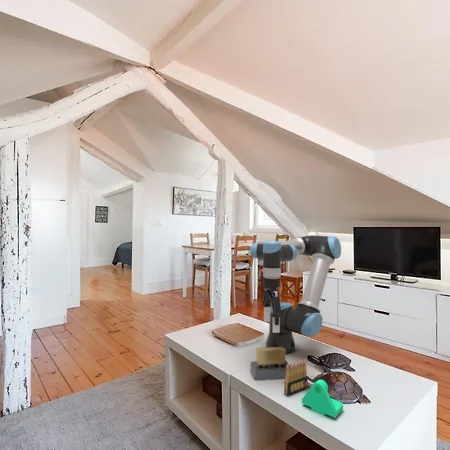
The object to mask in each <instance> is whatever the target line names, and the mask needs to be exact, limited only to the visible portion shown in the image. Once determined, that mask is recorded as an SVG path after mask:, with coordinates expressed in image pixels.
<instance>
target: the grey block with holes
mask: <svg viewBox="0 0 450 450" xmlns="http://www.w3.org/2000/svg"><path fill="white" fill-rule="evenodd" d="M287 364H289V362H288V361H287V359H285V364H281V367H276V364H272V365H265V368H261V365H258V364H257V363H256V361H250V373H251V376H252V378H253V380H254V381H267V380H270V381H271V380H282V379H285V380H286V367H287ZM289 371H290V364H289Z"/></svg>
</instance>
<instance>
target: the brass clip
mask: <svg viewBox="0 0 450 450" xmlns="http://www.w3.org/2000/svg"><path fill="white" fill-rule="evenodd" d="M286 354H287V353H286V350H285V348H284V347H270V348H266V347H256V350H255V355H256V357H255V362H256V363H257V364H258V365H261V368H265V365H272V364H276V367H281V364H285V360H286V356H287V355H286Z"/></svg>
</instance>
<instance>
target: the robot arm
mask: <svg viewBox="0 0 450 450" xmlns="http://www.w3.org/2000/svg"><path fill="white" fill-rule="evenodd" d="M249 248H250V249H249V254H250V256H251V257H252V258H253V259H257V260H262V269H261V272H262V286H263V287H264V291H263V297H262V304H263V322H264V323H269V325H268V327H269V331H268V332H269V333H268V336H267V339H266V341H265V348H270V347H284V348H285V350H286V354H291V353H294V352H295V351H296V341H295V338H294V337H293V333H295V334H299V335H302V336H304V337H310V338H313V337H315V336H317V335H318V334H319V333H320V331H321V330H322V329H321V328H322V327H323V319H324V318H323V316H322V314H321V310H320V308H319V306H320V301H321V299H322V295H323V292H324V288H325V285H326V282H327V281H326V280H327V277H328V273H329V270H330V266H331V265H333V264H334V263H335V259H336V260H337V259H339V258H340V257H341V254H342V245H341V242H340V239H339V238H338V237H337V236H333V235H313V234H312V235H311V234H310V235H305V236H299V237H294V238H292V239H291V240H290V239H289V240H281V241H277V240H266V241H264V242H263V243H261V242H256V243H255V242H253V243H252V244H251V245H250V247H249ZM301 255H302V256H309V257H311V258H312V264H311V267H310V270H309V274H308V277H307V281H306V284H305V288H304V291H303V295H302V297H301V301H299V302H297V304H296V307H293V304H292V303H291V302H288V301H287V302H285V301H283V302H281V299H280V291H277V288H280V287H281V278H280V277H281V276H282V271H281V270H282V267H281V265H282V264H281V263H284V262H285V263H286V262H291V261H294V260H295V259H296V258H297V257H298V256H301Z"/></svg>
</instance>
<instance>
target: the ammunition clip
mask: <svg viewBox="0 0 450 450" xmlns="http://www.w3.org/2000/svg"><path fill="white" fill-rule="evenodd" d="M289 365H290V371H289ZM306 381H307V382H308V376H307V361H306V358H305V357H304V358H303V359H302V358H300V361H299V360H297V361H296V360H294V361H293V362H292V361H290V363H288V364H287V367H286V379H285V380H284V388H283V389H284V391H283V394H284V395H285V396H286V398H287V397H290V396H294V395H295V394H298V393H301V392H303V391H306V390H309V388H307V387H306V386H305V385H304V384H303V382H305V383H306Z"/></svg>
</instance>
